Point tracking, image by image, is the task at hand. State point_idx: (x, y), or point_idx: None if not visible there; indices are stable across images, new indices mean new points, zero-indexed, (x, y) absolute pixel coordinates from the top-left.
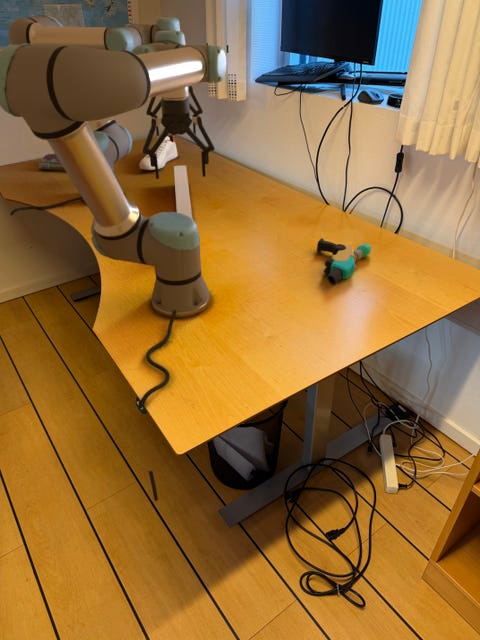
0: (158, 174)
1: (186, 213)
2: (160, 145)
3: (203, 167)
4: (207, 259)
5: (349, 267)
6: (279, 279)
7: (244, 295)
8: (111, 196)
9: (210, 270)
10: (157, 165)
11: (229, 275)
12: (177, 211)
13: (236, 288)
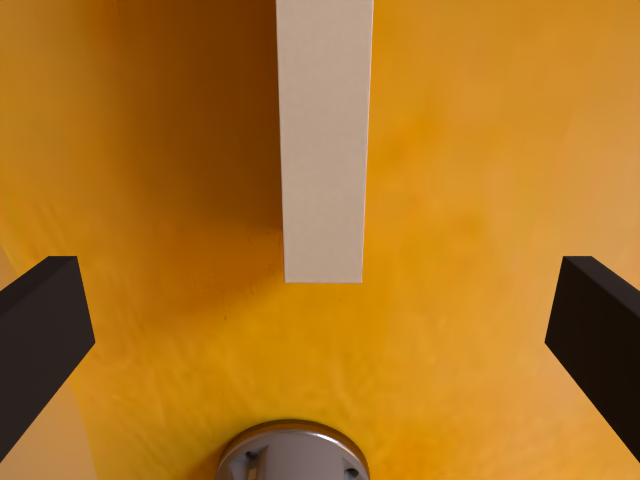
0: (71, 339)
1: (337, 72)
2: None
3: (609, 409)
4: (393, 280)
5: None
6: (588, 421)
7: (462, 472)
8: None
9: (392, 349)
10: (9, 432)
11: (447, 383)
12: (281, 27)
13: (450, 443)
